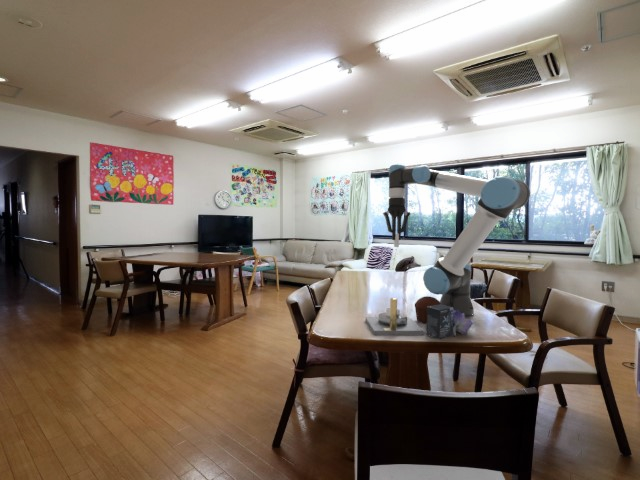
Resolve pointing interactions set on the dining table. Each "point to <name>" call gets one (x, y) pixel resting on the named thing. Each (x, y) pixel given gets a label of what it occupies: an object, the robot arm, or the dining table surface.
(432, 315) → the box
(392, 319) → the crank handle
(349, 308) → the dining table surface
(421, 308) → the muffin
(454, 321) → the flower
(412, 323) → the stand
